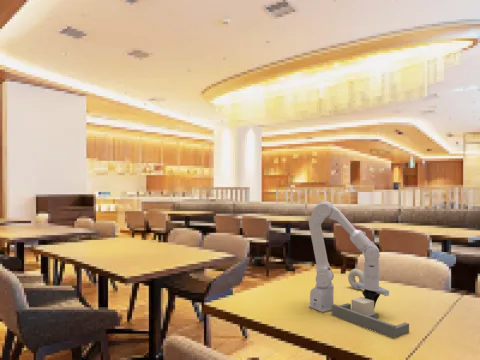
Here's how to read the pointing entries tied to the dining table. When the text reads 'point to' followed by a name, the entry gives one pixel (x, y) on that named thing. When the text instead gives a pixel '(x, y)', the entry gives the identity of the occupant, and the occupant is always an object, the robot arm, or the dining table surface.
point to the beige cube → (363, 305)
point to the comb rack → (369, 321)
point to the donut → (352, 277)
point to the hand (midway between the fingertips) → (371, 309)
